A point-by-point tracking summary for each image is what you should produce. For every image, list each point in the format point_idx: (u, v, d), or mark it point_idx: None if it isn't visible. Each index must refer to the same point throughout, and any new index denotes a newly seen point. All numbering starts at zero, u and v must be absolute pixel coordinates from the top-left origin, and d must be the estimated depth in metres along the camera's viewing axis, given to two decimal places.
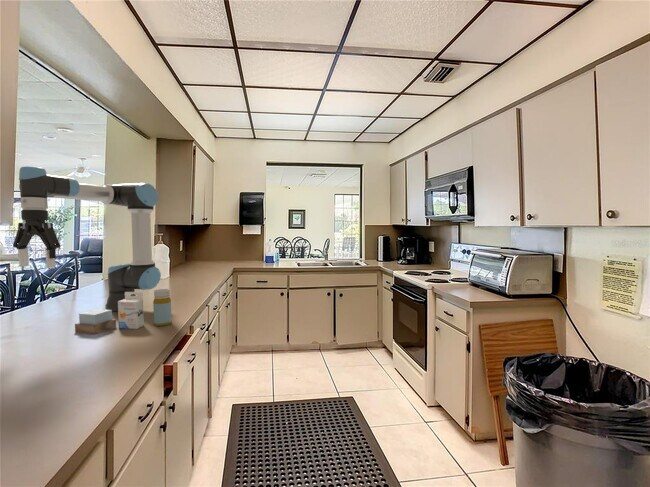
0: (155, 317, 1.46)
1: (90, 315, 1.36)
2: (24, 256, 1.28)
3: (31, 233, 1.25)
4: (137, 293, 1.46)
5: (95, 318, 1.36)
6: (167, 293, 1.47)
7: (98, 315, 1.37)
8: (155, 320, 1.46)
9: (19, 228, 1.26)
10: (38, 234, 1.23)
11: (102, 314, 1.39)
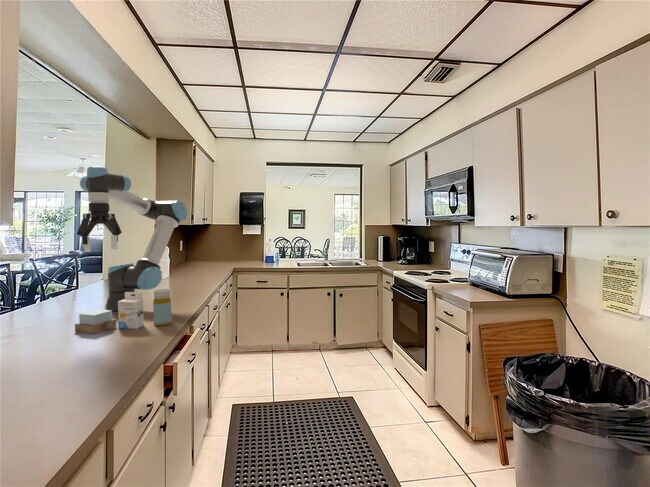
0: (155, 317, 1.46)
1: (90, 315, 1.36)
2: (113, 241, 1.57)
3: None
4: (137, 293, 1.46)
5: (95, 319, 1.36)
6: (167, 293, 1.47)
7: (98, 315, 1.37)
8: (155, 320, 1.46)
9: None
10: None
11: (102, 315, 1.39)
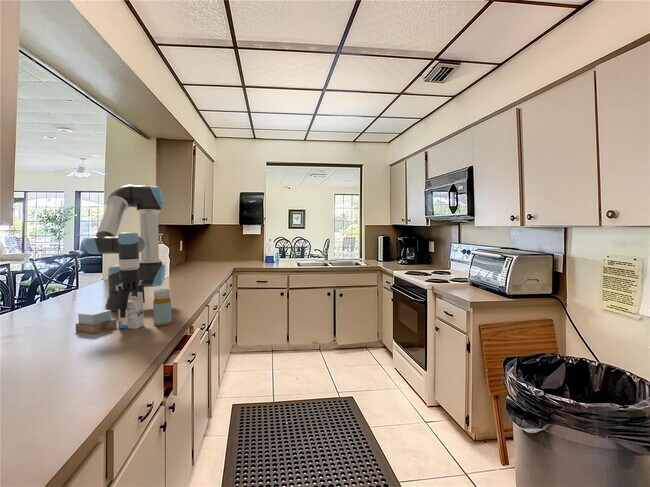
0: (155, 317, 1.46)
1: (89, 315, 1.36)
2: None
3: None
4: (137, 293, 1.46)
5: (93, 318, 1.36)
6: (167, 293, 1.47)
7: (97, 315, 1.37)
8: (155, 320, 1.46)
9: None
10: None
11: (101, 314, 1.39)
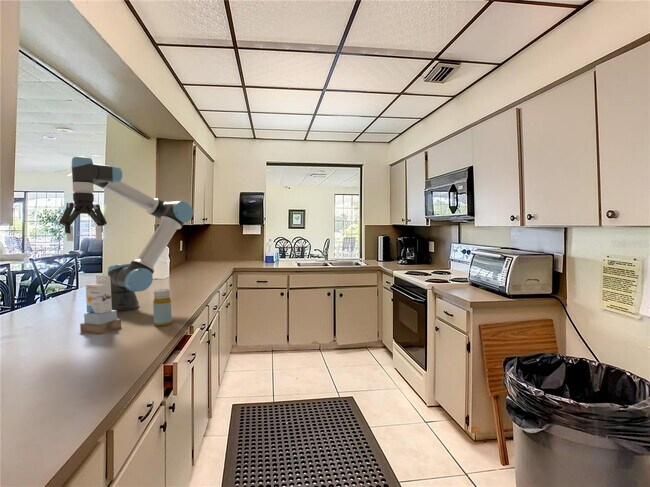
0: (155, 317, 1.46)
1: (95, 315, 1.36)
2: (98, 231, 1.58)
3: None
4: (106, 277, 1.42)
5: (100, 318, 1.36)
6: (167, 293, 1.47)
7: (102, 315, 1.37)
8: (155, 320, 1.46)
9: None
10: None
11: (107, 314, 1.39)
